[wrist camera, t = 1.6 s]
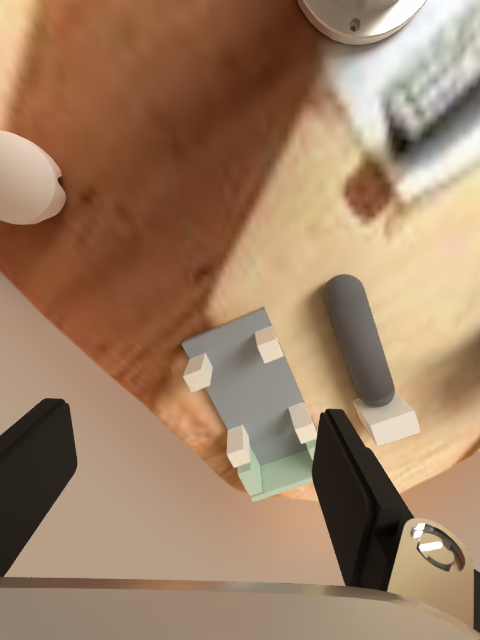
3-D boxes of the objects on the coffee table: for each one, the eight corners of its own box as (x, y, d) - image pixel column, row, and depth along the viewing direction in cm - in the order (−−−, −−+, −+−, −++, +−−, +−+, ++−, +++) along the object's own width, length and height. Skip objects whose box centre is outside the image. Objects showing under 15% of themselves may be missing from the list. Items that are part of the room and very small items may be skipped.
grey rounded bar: (309, 282, 30) (322, 291, 26) (352, 264, 30) (373, 270, 25) (359, 418, 35) (377, 446, 31) (396, 405, 35) (420, 432, 30)
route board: (263, 306, 31) (268, 320, 26) (321, 442, 36) (334, 474, 32) (183, 340, 32) (173, 359, 27) (251, 467, 37) (252, 502, 33)
